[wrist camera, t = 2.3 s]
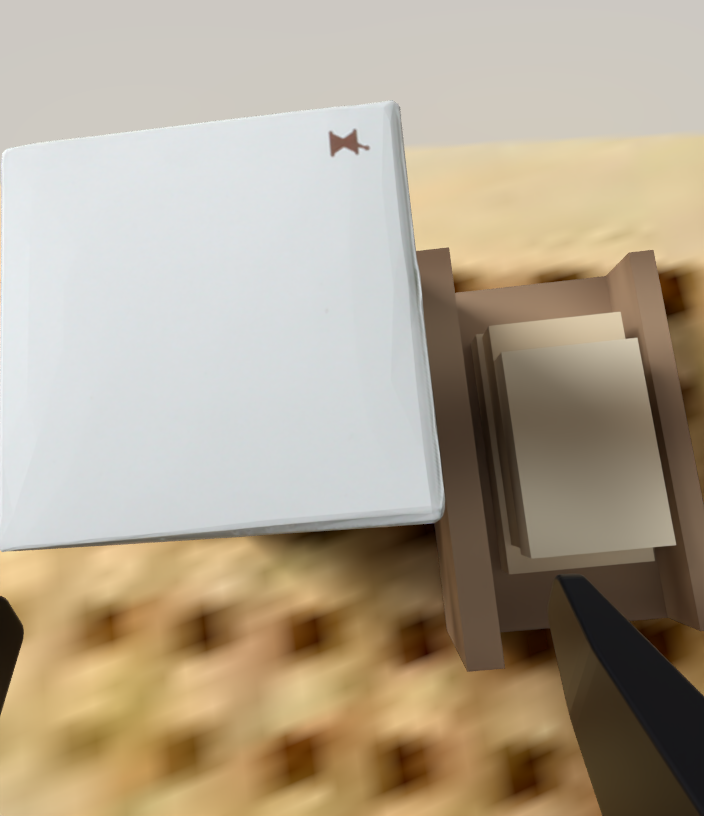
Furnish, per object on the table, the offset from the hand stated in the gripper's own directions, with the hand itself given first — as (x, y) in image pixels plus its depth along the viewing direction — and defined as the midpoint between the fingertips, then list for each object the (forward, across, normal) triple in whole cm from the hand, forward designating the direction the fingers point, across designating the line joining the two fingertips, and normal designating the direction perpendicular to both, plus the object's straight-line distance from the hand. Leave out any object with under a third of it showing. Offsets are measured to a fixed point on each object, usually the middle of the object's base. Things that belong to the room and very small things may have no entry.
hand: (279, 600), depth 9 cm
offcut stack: (+10, -8, +5) cm, 14 cm away
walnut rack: (+10, -8, +6) cm, 14 cm away
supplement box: (+12, +1, +5) cm, 13 cm away
